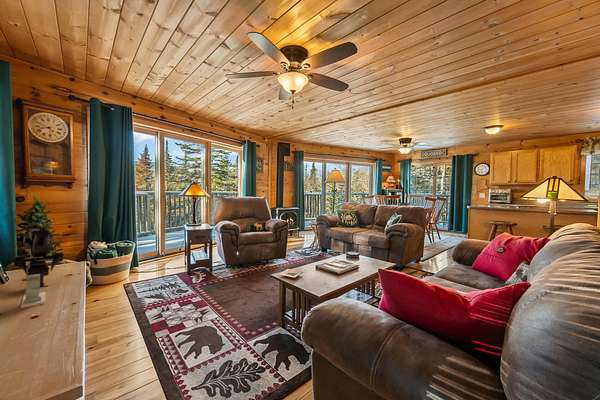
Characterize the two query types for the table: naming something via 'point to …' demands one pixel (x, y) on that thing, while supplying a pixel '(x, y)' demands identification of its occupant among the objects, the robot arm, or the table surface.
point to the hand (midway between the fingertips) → (39, 272)
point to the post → (32, 287)
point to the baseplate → (33, 303)
